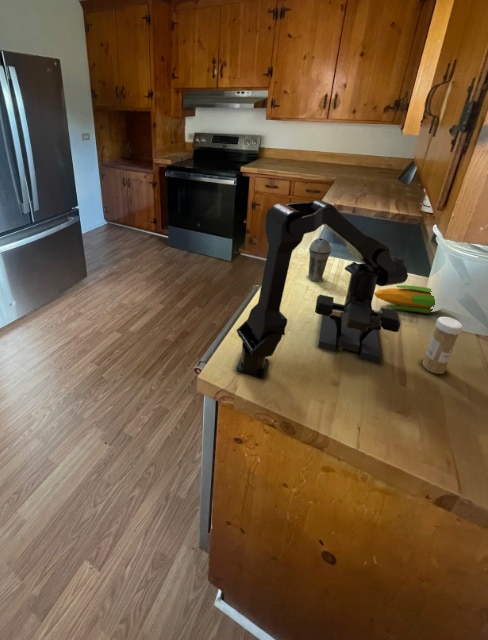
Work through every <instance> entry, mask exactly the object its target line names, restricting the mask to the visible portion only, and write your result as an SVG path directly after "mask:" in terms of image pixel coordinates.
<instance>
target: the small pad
mask: <svg viewBox="0 0 488 640" xmlns="http://www.w3.org/2000/svg"><path fill="white" fill-rule="evenodd" d="M338 348H341V349H345V350H349V351H351V352H355V353H359V352H360V341H359V332H356V331H352V330H348V329H344V328H341V336H340V338H338Z"/></svg>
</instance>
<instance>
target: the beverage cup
mask: <svg viewBox="0 0 488 640" xmlns="http://www.w3.org/2000/svg"><path fill="white" fill-rule="evenodd" d="M327 231H328V228H327V227H325V229H324V233H323V236H322V238H316V239H314V240H313V241H312V242H311V243H310V245H309V247H308V251H309V253H308V254H309V259H308V260H309V261H308V279H309V280H310V281H311V282H321V281H322V279H323V276H324V273H325V270H326V266H327V263H328V259H329V258H330V255H331V252H332V247H331V244H330V242H329V241H328V240H327V239H325V238H326V234H327Z"/></svg>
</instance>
